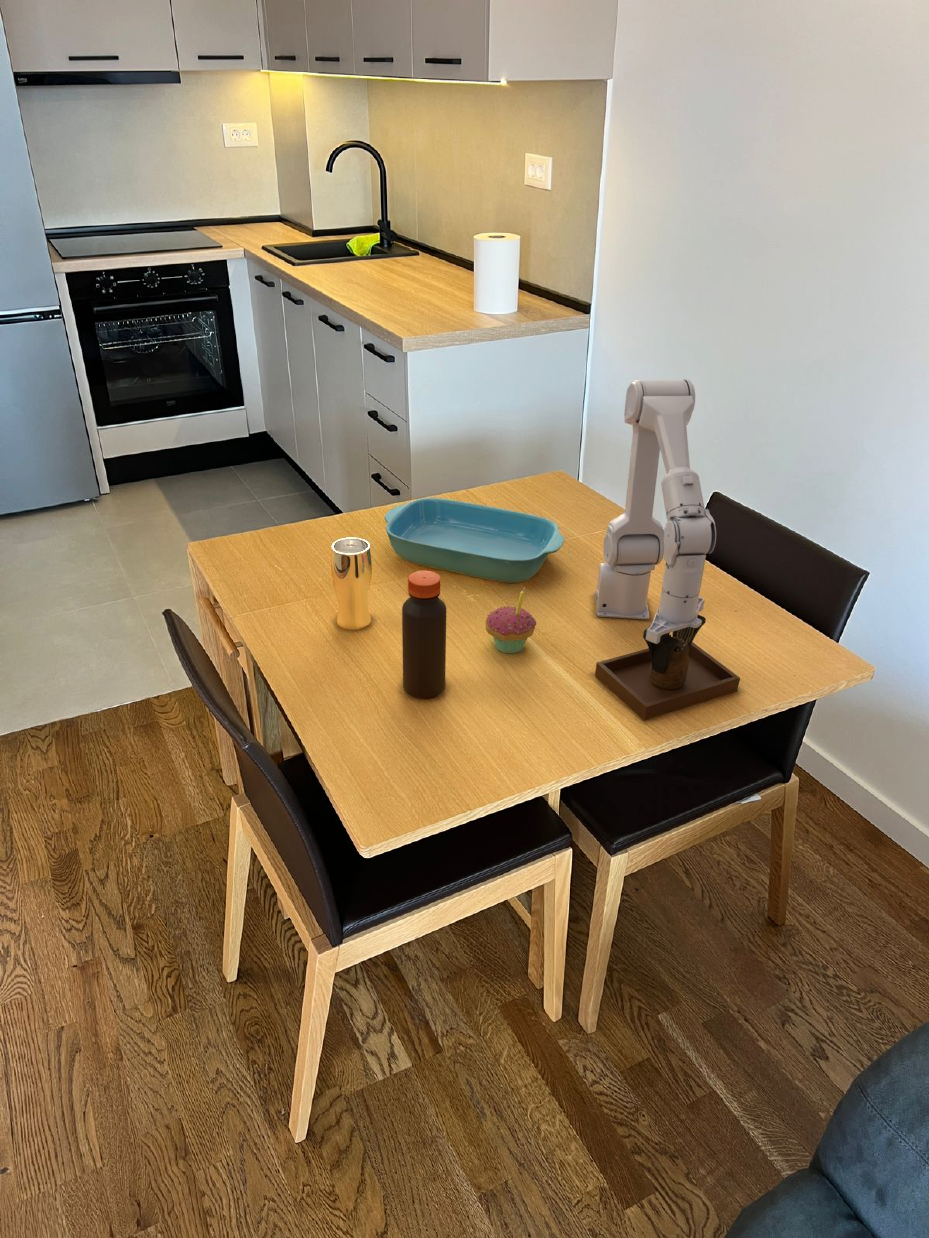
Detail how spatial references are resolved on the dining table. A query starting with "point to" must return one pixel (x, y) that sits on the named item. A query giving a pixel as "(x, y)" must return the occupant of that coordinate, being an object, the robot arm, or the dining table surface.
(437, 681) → the bottle
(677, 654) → the utensil holder
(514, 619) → the cupcake
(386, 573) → the dining table surface
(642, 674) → the tray
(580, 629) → the dining table surface
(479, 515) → the casserole dish
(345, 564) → the beer glass
